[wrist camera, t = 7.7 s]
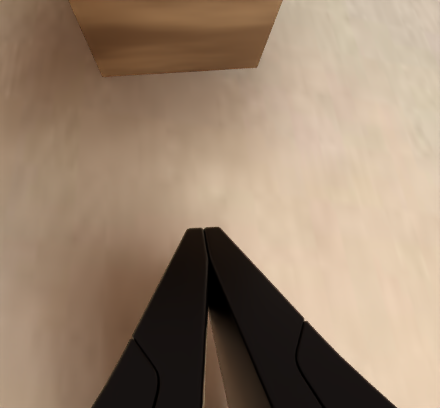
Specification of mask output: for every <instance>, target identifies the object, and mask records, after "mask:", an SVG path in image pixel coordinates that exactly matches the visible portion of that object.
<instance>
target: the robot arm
mask: <svg viewBox="0 0 440 408" xmlns="http://www.w3.org/2000/svg"><path fill="white" fill-rule="evenodd" d="M208 312H209V318H210V323H211V327H212V332H213V337H214V341H215V346H216V351H217V355H218V360H219V365H220V369H221V374H222V379H223V383H224V388H225V393H226V397H227V402H228V407H229V408H397V407H396V406H395V405H393V404H392V403H391V402H390V401H389V400H388V399H387V398H386V397H385V396H383V395H382V394H381V393H380V392H379V391H378V390H377V389H376V388H375V387H373V386H372V385H371V384H370V383H369V382H368V381H367V380H366V379H365V378H364V377H362V376H361V375H360V374H359V373H358V372H357V371H356V370H355V369H354V368H353V367H352V366H351V365H350V364H349V363H348V362H346V361H345V360H344V359H343V358H342V357H341V356H340V355H339V354H338V353H337V352H336V351H335V350H334V349H333V348H332V347H331V346H330V345H329V344H328V343H327V342H326V341H325V340H324V339H323V337H322V336H321V335H320V334H319V333H318V332H317V331H316V330H315V329H314V328H313V327H312V326H311V325H310V324H309V323H308V321H304V317H303V316H302V315H301V314H300V313H299V312H298V311H297V310H296V309H295V308H294V307H293V306H292V304H291V303H290V302H289V301H288V300H287V299H286V298H285V297H284V296H283V295H282V294H281V293H280V292H279V290H278V289H277V288H276V287H275V286H274V285H273V284H272V283H271V282H270V281H269V280H268V279H267V278H266V276H265V275H264V274H263V273H262V272H261V271H260V270H259V269H258V268H257V267H256V266H255V265H254V264H253V263H252V261H251V260H250V259H249V258H248V257H247V256H246V255H245V254H244V253H243V252H242V251H241V250H240V249H239V247H238V246H237V245H236V244H235V243H234V242H233V241H232V240H231V239H230V238H229V237H228V236H227V235H226V233H225V232H224V231H223V230H222V229H221V228H220V227H206V228H204V230H203V229H202V228H189V229H187V230H186V232H185V234H184V236H183V238H182V240H181V242H180V244H179V246H178V248H177V250H176V252H175V253H174V255H173V257H172V259H171V261H170V263H169V265H168V267H167V269H166V271H165V273H164V275H163V277H162V279H161V281H160V283H159V284H158V286H157V288H156V290H155V292H154V294H153V296H152V298H151V300H150V302H149V304H148V306H147V308H146V310H145V312H144V314H143V316H142V317H141V319H140V321H139V323H138V325H137V327H136V329H135V331H134V333H133V335H132V339H130V340H129V342H128V344H127V346H126V348H125V350H124V352H123V354H122V356H121V358H120V359H119V361H118V363H117V365H116V367H115V369H114V370H113V372H112V374H111V376H110V378H109V379H108V381H107V383H106V385H105V386H104V388H103V390H102V391H101V393H100V394H99V396H98V398H97V399H96V401H95V402H94V404H93V406H92V407H91V408H204V403H205V376H206V350H207V324H208Z"/></svg>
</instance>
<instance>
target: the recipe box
mask: <svg viewBox="0 0 440 408" xmlns="http://www.w3.org/2000/svg"><path fill="white" fill-rule="evenodd" d="M68 1H69V3H70V5H71V7H72V10H73V12H74V14H75V16H76V19H77V21H78V23H79V25H80V28H81V30H82V32H83V34H84V37H85V39H86V41H87V43H88V46H89V48H90V50H91V52H92V55H93V57H94V59H95V61H96V63H97V66H98V68H99V70H100V72H101V75H102V77H110V76H126V75H143V74H159V73H176V72H192V71H209V70H225V69H242V68H257V66H258V63H259V61H260V58H261V56H262V53H263V50H264V48H265V45H266V42H267V40H268V37H269V35H270V32H271V29H272V27H273V24H274V21H275V19H276V16H277V14H278V11H279V8H280V6H281V3H282V1H283V0H68Z"/></svg>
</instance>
